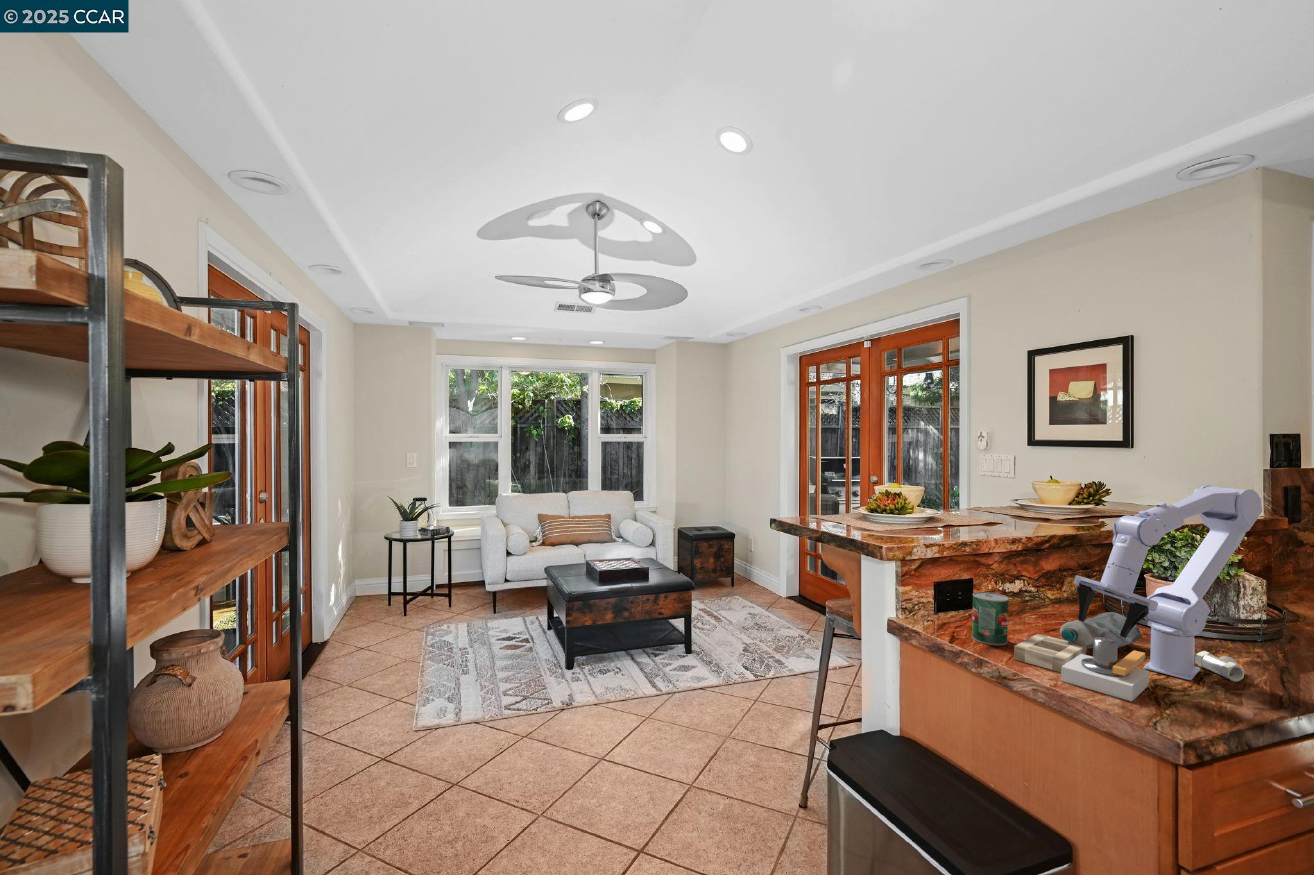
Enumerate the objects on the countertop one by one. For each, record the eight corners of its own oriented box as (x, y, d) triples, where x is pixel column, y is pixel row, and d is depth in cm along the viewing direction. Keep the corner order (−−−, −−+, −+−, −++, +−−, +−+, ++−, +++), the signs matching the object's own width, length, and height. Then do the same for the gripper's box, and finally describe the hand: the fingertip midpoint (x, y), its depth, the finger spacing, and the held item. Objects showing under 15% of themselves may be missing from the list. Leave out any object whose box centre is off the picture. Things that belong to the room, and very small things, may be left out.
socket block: (1080, 667, 135) (1080, 653, 134) (1148, 685, 125) (1148, 671, 125) (1061, 680, 127) (1061, 666, 127) (1131, 701, 118) (1132, 686, 118)
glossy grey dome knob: (1088, 672, 132) (1089, 631, 132) (1133, 684, 126) (1134, 641, 125) (1075, 681, 127) (1076, 638, 127) (1122, 695, 120) (1123, 650, 120)
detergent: (1093, 631, 158) (1033, 638, 147) (1097, 605, 158) (1038, 609, 147) (1151, 653, 147) (1091, 661, 136) (1156, 624, 146) (1097, 630, 135)
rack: (1037, 645, 148) (1037, 633, 147) (1085, 658, 140) (1085, 645, 140) (1013, 659, 139) (1014, 646, 139) (1064, 673, 131) (1064, 659, 131)
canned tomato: (1012, 646, 147) (1013, 601, 146) (977, 643, 148) (978, 599, 148) (1001, 635, 154) (1002, 592, 154) (967, 633, 156) (968, 590, 156)
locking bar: (1133, 655, 131) (1133, 650, 131) (1145, 658, 130) (1145, 652, 130) (1112, 672, 122) (1112, 666, 122) (1124, 675, 120) (1124, 669, 120)
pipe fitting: (1224, 669, 136) (1194, 666, 136) (1226, 652, 136) (1196, 649, 136) (1259, 684, 128) (1227, 681, 128) (1261, 666, 128) (1229, 663, 128)
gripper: (1079, 553, 133) (1058, 611, 132) (1161, 578, 122) (1138, 642, 121) (1087, 560, 138) (1067, 616, 137) (1167, 585, 126) (1145, 646, 125)
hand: (1101, 628), depth 129 cm, fingers open, 7 cm apart
